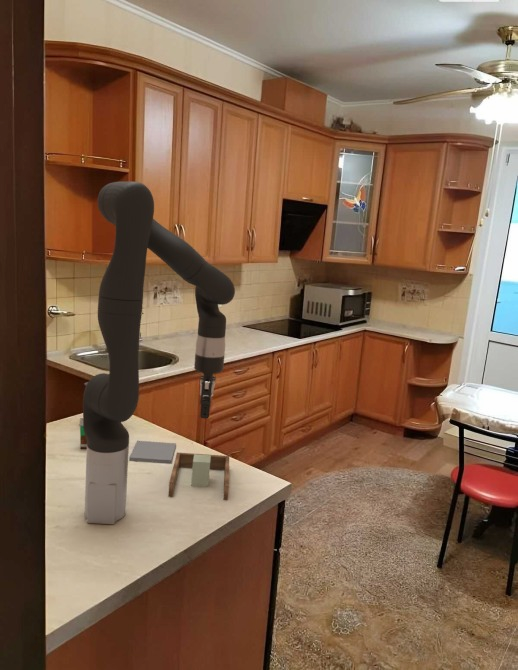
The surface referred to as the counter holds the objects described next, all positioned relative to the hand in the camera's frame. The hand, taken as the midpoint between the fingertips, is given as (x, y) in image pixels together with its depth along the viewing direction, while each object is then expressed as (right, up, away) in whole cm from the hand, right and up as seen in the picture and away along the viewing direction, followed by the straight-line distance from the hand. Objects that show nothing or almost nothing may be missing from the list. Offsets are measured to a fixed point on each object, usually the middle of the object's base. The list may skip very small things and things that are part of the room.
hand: (205, 412), depth 136 cm
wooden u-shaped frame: (-2, -20, +4) cm, 20 cm away
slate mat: (-18, -15, +19) cm, 30 cm away
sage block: (-2, -20, +4) cm, 20 cm away
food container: (-36, -13, +21) cm, 43 cm away
